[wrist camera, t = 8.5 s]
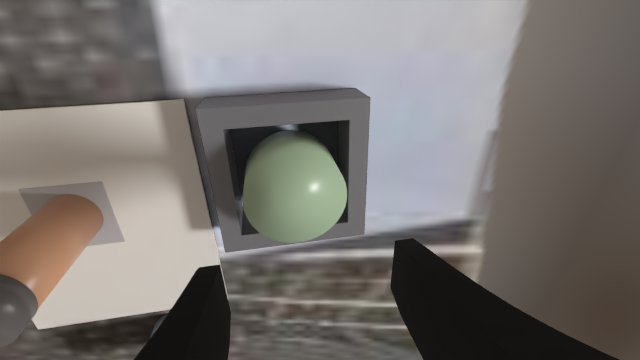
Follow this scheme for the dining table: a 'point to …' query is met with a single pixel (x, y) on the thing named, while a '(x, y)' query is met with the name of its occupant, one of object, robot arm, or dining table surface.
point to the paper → (112, 202)
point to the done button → (292, 187)
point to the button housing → (284, 110)
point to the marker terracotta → (42, 257)
